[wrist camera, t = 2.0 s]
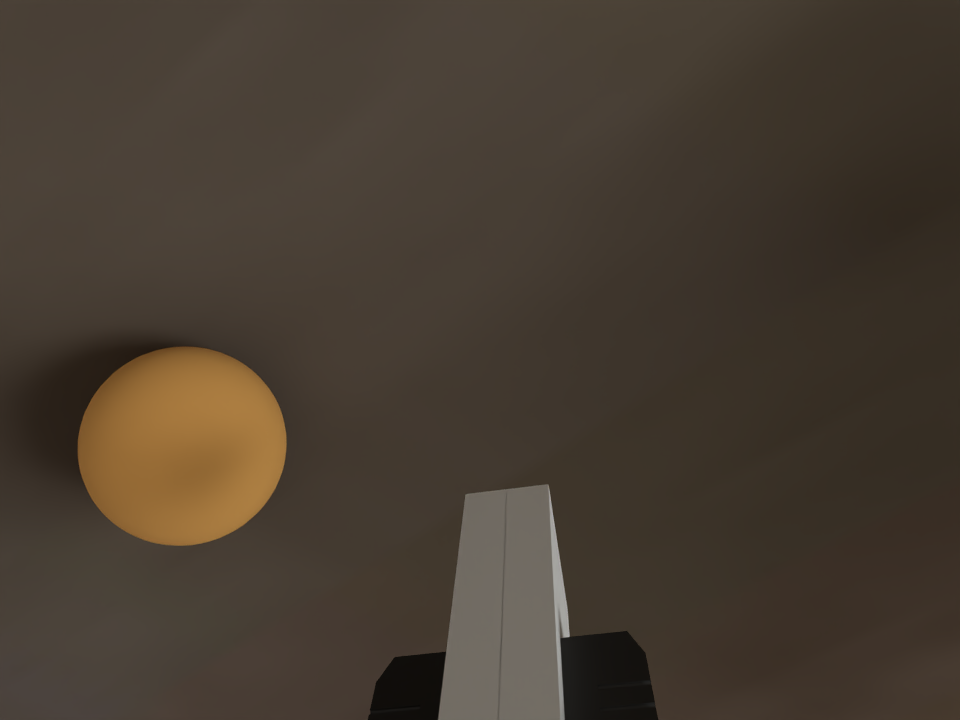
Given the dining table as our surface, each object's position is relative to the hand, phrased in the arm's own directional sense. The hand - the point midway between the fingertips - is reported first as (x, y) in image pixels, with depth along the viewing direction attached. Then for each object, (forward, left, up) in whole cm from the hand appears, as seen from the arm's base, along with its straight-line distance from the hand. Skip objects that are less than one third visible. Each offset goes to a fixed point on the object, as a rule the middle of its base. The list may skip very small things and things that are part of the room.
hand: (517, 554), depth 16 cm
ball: (0, +9, -8) cm, 12 cm away
